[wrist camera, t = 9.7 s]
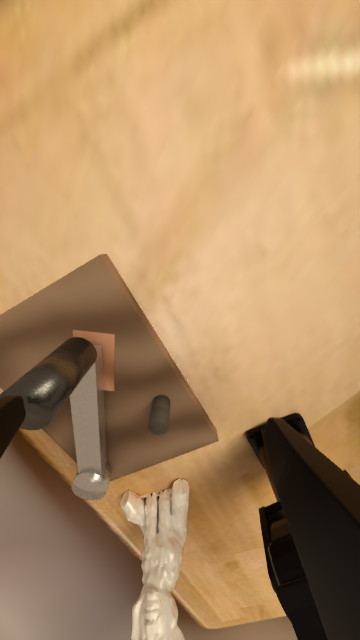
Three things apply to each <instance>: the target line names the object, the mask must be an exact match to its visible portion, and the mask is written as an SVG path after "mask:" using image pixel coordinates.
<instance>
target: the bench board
mask: <svg viewBox="0 0 360 640" xmlns="http://www.w3.org/2000/svg"><path fill="white" fill-rule="evenodd" d="M73 337H81V338H84V339H86V340H88V341H90V342H91V343H92V344H93V345H100V346H102V367H103V390H104V413H105V437H106V460H107V463H108V464H109V465H110V466H111V468H112V474H111V477H110V481H112V480H115V479H118V478H120V477H123V476H126V475H128V474H131V473H134V472H136V471H139V470H142V469H145V468H147V467H150V466H153V465H155V464H158V463H161V462H163V461H166V460H169V459H171V458H174V457H177V456H179V455H182V454H185V453H188V452H190V451H193V450H196V449H198V448H201V447H204V446H206V445H209V444H212V443H214V442H217V441H218V436H217V431H216V428H215V427H214V425H213V423H212V422H211V420H210V419H209V417H208V415H207V414H206V412H205V411H204V409H203V407H202V406H201V404H200V403H199V401H198V399H197V398H196V396H195V395H194V393H193V391H192V390H191V388H190V387H189V385H188V383H187V382H186V380H185V379H184V377H183V375H182V374H181V372H180V371H179V369H178V367H177V366H176V364H175V363H174V361H173V359H172V358H171V356H170V355H169V353H168V351H167V350H166V348H165V347H164V345H163V343H162V342H161V340H160V339H159V337H158V335H157V334H156V332H155V331H154V329H153V327H152V326H151V324H150V323H149V321H148V319H147V318H146V316H145V315H144V313H143V311H142V310H141V308H140V307H139V305H138V303H137V302H136V300H135V299H134V297H133V295H132V294H131V292H130V291H129V289H128V287H127V286H126V284H125V283H124V281H123V279H122V278H121V276H120V275H119V273H118V271H117V270H116V268H115V267H114V265H113V263H112V262H111V260H110V259H109V257H108V255H107V254H102V255H99V256H97V257H95V258H94V259H92V260H90V261H89V262H87V263H86V264H84V265H82V266H81V267H79V268H77V269H76V270H74V271H72V272H71V273H69V274H67V275H66V276H64V277H62V278H61V279H59V280H57V281H56V282H54V283H53V284H51V285H49V286H48V287H46V288H44V289H43V290H41V291H39V292H38V293H36V294H34V295H33V296H31V297H29V298H28V299H26V300H24V301H23V302H21V303H20V304H18V305H16V306H15V307H13V308H11V309H10V310H8V311H6V312H5V313H3V314H1V315H0V387H1V388H2V389H3V390H4V391H5V390H6V389H7V388H9V387H10V386H11V385H12V384H14V383H15V382H16V381H17V380H18V379H20V378H21V377H22V376H23V375H25V374H26V373H27V372H28V371H29V370H31V369H32V368H33V367H34V366H36V365H37V364H38V363H39V362H40V361H42V360H43V359H44V358H45V357H47V356H48V355H49V354H50V353H52V352H53V351H54V350H55V349H56V348H58V347H59V346H60V345H61V344H63V343H64V342H65V341H66V340H68V339H69V338H73ZM42 429H43V430H44V431H45V432H46V433H47V434H48V435H49V436H50V437H51V438H52V439H53V440H54V441H55V442H56V443H57V444H58V445H59V446H60V447H61V448H62V449H63V450H64V451H65V452H66V453H67V454H68V455H69V456H70V457H71V458H72V459H73V460H74V461H75V462H76V463H77V456H76V448H75V439H74V430H73V422H72V413H71V404H70V396H69V398H68V399H67V400H66V402H65V403H64V404H63V406H62V407H61V408H60V410H59V411H58V412H57V414H56V415H55V416H54V418H53V419H52V420H51V422H50V423H49V424H48V425H47V426H45V427H44V428H42ZM110 481H109V482H110Z"/></svg>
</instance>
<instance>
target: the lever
mask: <svg viewBox="0 0 360 640" xmlns="http://www.w3.org/2000/svg"><path fill="white" fill-rule="evenodd" d="M6 395H20V396H22V397H23V401H24V406H25V411H26V416H25V419H24V421H23V423H22V424H21V426H20V428H22V429H27V430H37V429H41V428H44V427H45V426H47V425H48V424H49V423H50V422H51V420H52V419H53V418H54V416H55V415H56V414H57V412H58V411H59V410H60V408H61V407H62V406H63V404H64V403H65V402H66V400H67V399H68V398H69V396H70V404H71V413H72V422H73V430H74V439H75V448H76V456H77V465H78V472H77V475H76V477H75V479H74V481H73V483H72V491H73V492H74V494H75V495H77V496H78V497H80V498H82V499H86V500H97V499H100V498H102V497H103V496H104V495H105V493H106V490H107V487H108V484H109V481H110V477H111V474H112V468H111V466H110V465H109V464H108V463H107V460H106V437H105V413H104V390H103V367H102V346H100V345H93V344H92V343H91V342H90V341H88V340H86V339H84V338H81V337H73V338H69V339H68V340H66V341H65V342H64V343H63V344H61V345H60V346H59V347H58V348H56V349H55V350H54V351H53V352H52V353H50V354H49V355H48V356H47V357H45V358H44V359H43V360H42V361H40V362H39V363H38V364H37V365H36V366H34V367H33V368H32V369H31V370H29V371H28V372H27V373H26V374H25V375H23V376H22V377H21V378H20V379H18V380H17V381H16V382H15V383H14V384H12V385H11V386H10V387H9V388H7V389H6V390H5V391H4V392H3V393H1V395H0V398H2V397H4V396H6Z"/></svg>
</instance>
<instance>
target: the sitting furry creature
mask: <svg viewBox="0 0 360 640" xmlns="http://www.w3.org/2000/svg"><path fill="white" fill-rule="evenodd" d="M171 494H172V495H171ZM157 496H159V500H158V499H157ZM145 497H147V498H146V499H143V498H145ZM157 500H158V501H157ZM120 506H121V508H122V510H123V511H124V512H125V515H126V517H127V520H128V521H131V522H132V523H133V524H138V525H139V526H140V528H141V531H142V533H143V536H144V543H143V547H144V549H143V551H142V554H141V557H142V565H141V567H142V571H143V578H142V582H143V584H144V586H143V588H142V591H141V594H140V597H139V599H138V600H137V602H136V603H135V604H134V606H133V608H132V614H133V615H132V624H133V630H132V636H131V640H185V639H184V636H183V634H182V632H181V630H180V629H179V628H178V626H177V618H178V610H177V607H176V603H175V600H174V598H173V597H172V596H171V594H170V593H171V591H172V590H173V589H174V587H175V584H176V581H177V580H178V578H179V571H180V569H181V560H182V551H183V548H184V544H185V540H186V535H187V526H188V522H187V520H188V516H187V513H188V506H189V485H188V483H187V481H186V480H184V479H182V480H181V479H180V478H179V479H178V480H176V481H175V482H174V484H173V487H172V488H170V489H167V490H166V489H165V490H164V492H162V490H161V491H160V493H159V494H156V493H155V492H153V494H152V496H151V494H150V493H148V494H145V495H141V496H139V495H137V494H135V493H134V492H133V491H130V490H129V489H128V490H127V491H125V493H124V495H123V497H122V499H121V503H120Z"/></svg>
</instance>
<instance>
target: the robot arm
mask: <svg viewBox="0 0 360 640" xmlns="http://www.w3.org/2000/svg"><path fill="white" fill-rule="evenodd" d="M25 416H26V411H25V406H24V401H23V397H22V396H20V395H6V396H4V397H2V398H0V458H1V456H2V455H3V453H4V452H5V450H6V448H7V447H8V445H9V444H10V442H11V440H12V439H13V437H14V436H15V434H16V432H17V431H18V429H19V428H20V426H21V424H22V423H23V421H24V419H25ZM246 437H247V439H248V441H249V443H250V444H251V446H252V448H253V450H254V451H255V453H256V455H257V457H258V458H259V460H260V462H261V464H262V466H263V467H264V469H265V470H266V473H267V476H268V478H269V481H270V484H271V486H272V489H273V492H274V494H275V497H276V500H277V502H276V503H273V504H271V505H269V506H267V507H264V506H263V507H261V508H259V514H260V523H261V530H262V536H263V542H264V549H265V555H266V562H267V568H268V574H269V578H270V580H271V584H272V587H273V590H274V591H275V593H276V594H277V597H278V599H279V601H280V603H281V605H282V608H283V610H284V611H285V613H286V615H287V617H288V618H289V620H290V621H291V622H292V625H293V628H294V630H295V633H296V636H297V638H298V640H360V485H359V484H358V483H357V482H355V481H354V480H353V479H352V477H351V476H350V475H349V474H348V472H347V471H346V470H344V471H342V470H341V469H340V468H339V467H338V466H337V465H335V464H334V463H333V462H332V461H331V460H330V459H328V458H327V457H326V456H325V455H324V454H322V453H321V452H320V451H319V450H318V449H317V448H315V446H314V443H313V441H312V438H311V436H310V434H309V431H308V429H307V427H306V424H305V422H304V419H303V418H302V416H301V415H300V414H298V413H297V414H293V415H291V416H288V417H285V418H283V419H281V418H273V417H271V418H269V419H268V421H267V424H266V425H264V426H261V427H258V428H256V429H253V430H250V431H248V432H247V433H246Z"/></svg>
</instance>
